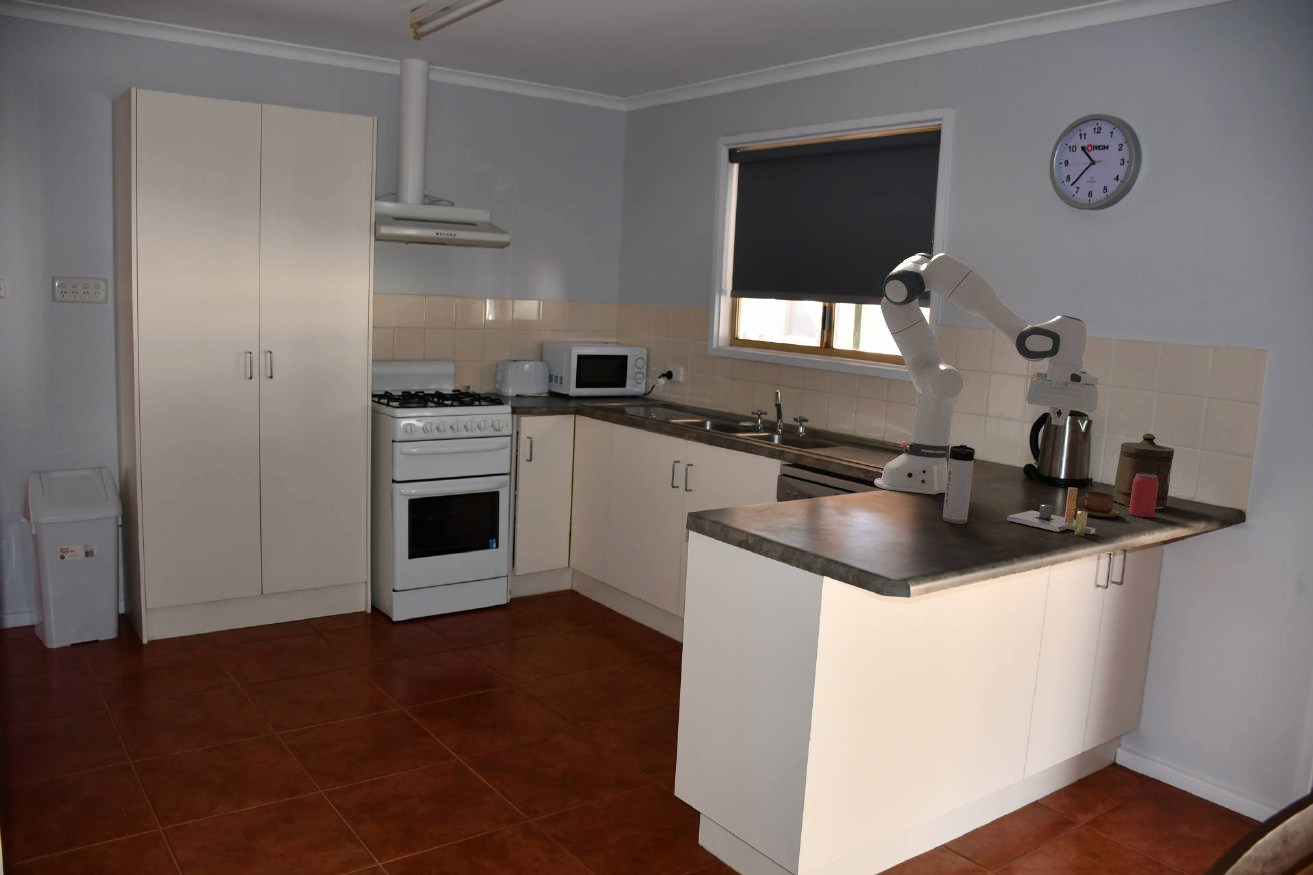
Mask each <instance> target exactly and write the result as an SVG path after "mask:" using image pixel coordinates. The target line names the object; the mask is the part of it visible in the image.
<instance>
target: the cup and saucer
mask: <svg viewBox="0 0 1313 875" xmlns="http://www.w3.org/2000/svg"><path fill="white" fill-rule="evenodd" d="M1083 500H1084V503H1083V504H1082V501H1083ZM1075 510H1077V511H1084V512H1087V513H1088V514H1087V516H1090V517H1096V518H1104V517H1105V518H1106V519H1107V518H1117V517H1118V516H1120V515H1121V513H1122V511H1121V510H1120V509H1117V508H1114V496H1113V494H1110V493H1106V492H1100V491H1087V492H1085V496H1081V497H1080V498H1079V499H1078V504H1076V506H1075Z"/></svg>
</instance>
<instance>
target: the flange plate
mask: <svg viewBox="0 0 1313 875" xmlns="http://www.w3.org/2000/svg"><path fill="white" fill-rule="evenodd" d="M1067 488H1068V490H1067V497H1066V504H1065V514H1064V516H1060V515H1055V514H1051V520H1050V521H1047V520H1042V519H1039V512H1040V511H1036V510H1027V511H1024V512H1020V513H1019V512H1018V513H1014V514H1010V515H1007V516H1006V517H1007V518H1006V520H1007V521H1009V522H1014V523H1019V524H1023V525H1027V526H1030V527H1035V528H1041V529H1044V530H1049V531H1053V532H1062V531H1065V530H1070V531H1075V527H1076V519H1075V512H1076V507H1075V506H1076V505H1077V504H1076V503H1077V499H1078V498H1077V497H1078V490H1079V489H1078V488H1077V487H1071V486H1070V487H1067ZM1095 533H1096V528H1095V527H1091V526H1086V529H1085V534H1088V535H1089V534H1090V535H1092V534H1095Z"/></svg>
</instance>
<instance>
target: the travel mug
mask: <svg viewBox="0 0 1313 875" xmlns="http://www.w3.org/2000/svg"><path fill="white" fill-rule="evenodd" d="M975 454H976V450H975V448H973V447H971V446H967V445H966V444H959V445H953V446H952V445H951V446H950V453H949V460H948V463H947V482H946V491H945V492H944V501H943V511H942V513H943V514H942V520H943V521H944V522H945V523H950V524H954V525H957V524H959V525H965V524H967V522H968V517H969V508H970V500H971V499H970V498H971V490H972V489H971V488H972V484H973V482H972V480H973V472H974V465H975V464H974V463H975Z"/></svg>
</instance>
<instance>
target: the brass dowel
mask: <svg viewBox="0 0 1313 875" xmlns="http://www.w3.org/2000/svg"><path fill="white" fill-rule="evenodd" d="M1087 514H1088V513H1087V512H1084V511H1078V510H1077V512H1076V519H1075V520H1076V527H1075V530H1074V535H1076V536H1080V537H1085V534H1086V533H1085V529H1086V527H1087V520H1088V515H1087Z"/></svg>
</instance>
